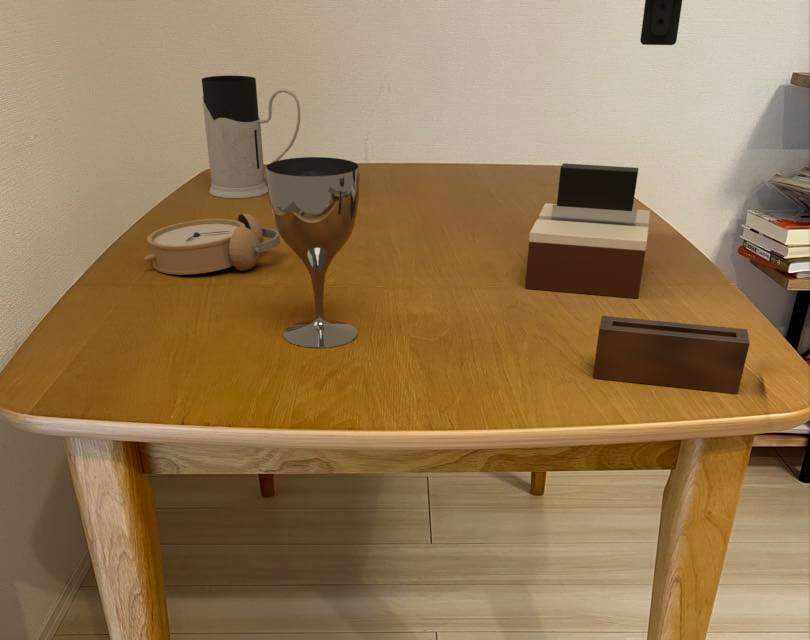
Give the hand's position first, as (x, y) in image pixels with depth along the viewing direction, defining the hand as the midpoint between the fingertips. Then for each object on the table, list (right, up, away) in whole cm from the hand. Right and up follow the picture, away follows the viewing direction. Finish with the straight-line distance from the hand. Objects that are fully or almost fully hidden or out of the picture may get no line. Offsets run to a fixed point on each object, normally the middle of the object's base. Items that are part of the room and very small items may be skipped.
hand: (658, 40), depth 84 cm
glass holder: (-47, +4, +47) cm, 66 cm away
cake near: (-5, -20, +12) cm, 24 cm away
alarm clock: (-46, -16, +18) cm, 52 cm away
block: (-2, -34, -8) cm, 35 cm away
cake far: (-3, -16, +18) cm, 24 cm away
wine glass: (-32, -28, 0) cm, 43 cm away
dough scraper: (-4, -18, +15) cm, 24 cm away
